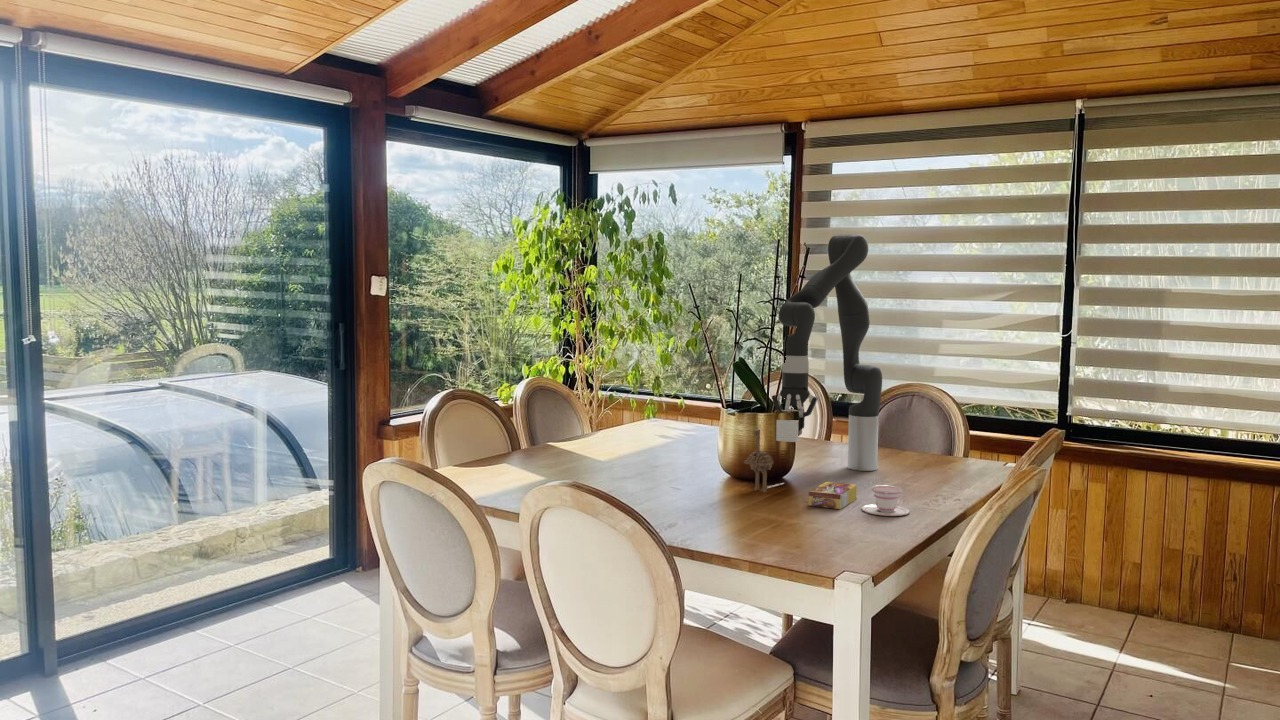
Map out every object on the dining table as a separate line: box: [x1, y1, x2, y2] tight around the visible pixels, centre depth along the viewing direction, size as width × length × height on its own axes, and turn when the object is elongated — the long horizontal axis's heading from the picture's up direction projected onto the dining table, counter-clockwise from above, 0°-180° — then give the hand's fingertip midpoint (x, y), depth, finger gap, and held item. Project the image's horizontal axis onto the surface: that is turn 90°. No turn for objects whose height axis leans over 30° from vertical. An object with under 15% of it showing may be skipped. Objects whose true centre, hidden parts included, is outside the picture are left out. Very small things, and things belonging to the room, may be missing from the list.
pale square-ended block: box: [775, 419, 803, 443], centre depth 266 cm, size 15×6×6 cm, turn 159°
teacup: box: [861, 484, 910, 517], centre depth 238 cm, size 12×12×6 cm
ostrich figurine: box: [743, 429, 785, 494], centre depth 263 cm, size 17×7×18 cm, turn 139°
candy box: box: [808, 481, 858, 510], centre depth 247 cm, size 9×4×15 cm
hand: (794, 429), depth 269 cm, fingers closed on pale square-ended block, 3 cm apart
